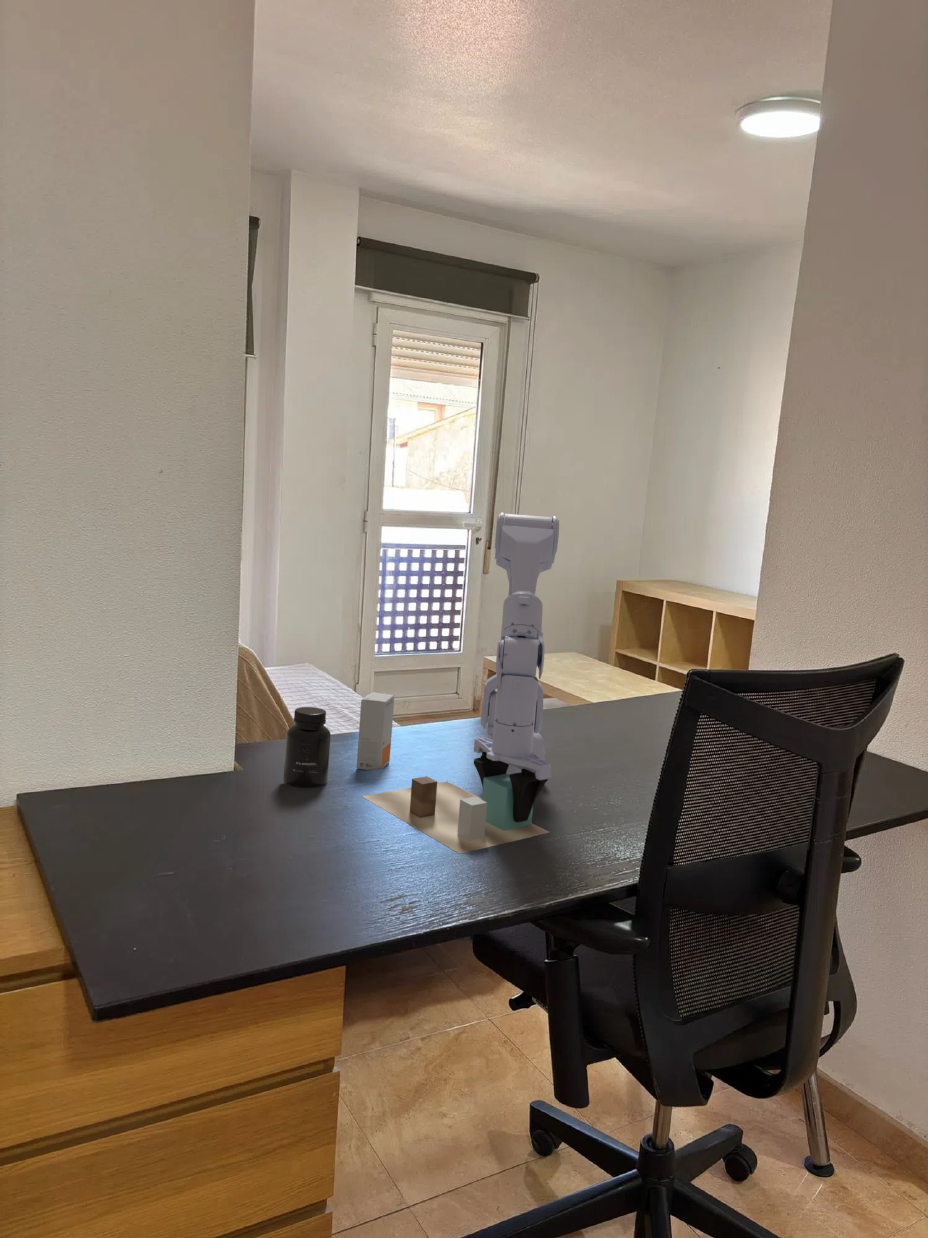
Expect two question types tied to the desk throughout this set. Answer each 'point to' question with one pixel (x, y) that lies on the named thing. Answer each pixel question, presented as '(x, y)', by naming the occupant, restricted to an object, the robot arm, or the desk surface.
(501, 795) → the teal green block
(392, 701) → the skincare box
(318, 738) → the supplement bottle
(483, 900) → the desk surface
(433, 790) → the walnut post
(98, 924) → the desk surface
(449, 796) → the board
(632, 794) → the desk surface
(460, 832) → the grey post
